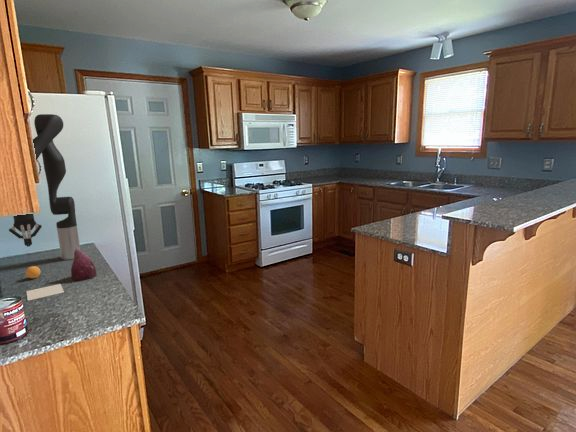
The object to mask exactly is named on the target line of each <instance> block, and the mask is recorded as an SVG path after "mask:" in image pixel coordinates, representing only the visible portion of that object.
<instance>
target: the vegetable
mask: <svg viewBox="0 0 576 432" xmlns="http://www.w3.org/2000/svg"><path fill="white" fill-rule="evenodd" d="M70 274H71V280H73V281H80V282H81V281H87V280H91V279H93V278H95V277H97V270H96V267H95V264H94V262H93V260H92V258H91V257H90V256H89V255H88V254H86V253H84V252H83V251H82V250H81V249H80V250H79V249H77V248H76V250H75V252H74V259H73V262H72V264H71V268H70Z"/></svg>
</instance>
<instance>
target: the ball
mask: <svg viewBox="0 0 576 432" xmlns="http://www.w3.org/2000/svg"><path fill="white" fill-rule="evenodd" d="M40 274H41V269H40V268H39V267H38V266H35V265H34V266H33V265H32V266H29V267H28V268H26V270H25V276H26V277H27V278H29V279H36V278H38V277H39V276H40Z"/></svg>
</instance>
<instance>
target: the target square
mask: <svg viewBox="0 0 576 432" xmlns="http://www.w3.org/2000/svg"><path fill="white" fill-rule="evenodd" d="M63 293H65V291H64V289H63V286H62V284H61V283H58V284H54V285H49V286H44V287H40V288H36V289H31V290H30V289H29V290H26V298H27V302H29V301H34V300H38V299H42V298H46V297H51V296H56V295H60V294H63Z"/></svg>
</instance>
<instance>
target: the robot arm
mask: <svg viewBox="0 0 576 432" xmlns="http://www.w3.org/2000/svg"><path fill="white" fill-rule="evenodd" d="M33 123H34V124H33V125H34V129H35V133H36V136H35V137H34V138H33V139H32V140H33V143H34V148H35V154H36V160H38V159H39V158H40V156H42V163H43V164H42V165H43V169H44V173H45V179H46V184H47V190H48V200H49V208H50V212H51V214H52V215H54V216H59V215H61V216H62V215H67V217H65V218H64V219H61V220H58V221H57V222H56V225H55V226H56V231H57V237H58V244H59V251H60V252H59V253H60V258H61V260H65V261H67V260H74V252H75V250H76V248H77V249H79V250H80V251H81V245H80V237H79V232H78V225H77V216H76V206H75V205H76V204H75V200H74V198H73V197H72V196H57V194H58V189H59V187H60V185H61V183H62V182H63V180H64V178H65V176H66V173H67V170H66V162H65V158H64V156H63V155H62V153H61V152H60V151H59V149H58V148H57V146H56V145H55V143H54V139H55V138H56V137H57V136H58V135H59V134H60V133H61V132H62V131H63V129H64V121H63V119H62V117H61V116H59V114H58V115H57V114H50V113H49V114H48V113H45V114H44V113H42V114H37V115H36V116H35V118H34V122H33ZM12 216H13V215H12ZM12 218H13V226H11V227H10V228H8V231H9V232H10V233H12V234H13V235H14V236H15V237H17V238H18V239H22V240H23V244H24V246H26V247H27V248H28V247H31V246H32V245H33V241H32V238H34V237H36V235H37V234H38V233H39V231H40V230H41V229H42V224H40V223H39V224H38V223H37V221H36V220H35V217H34V213H33V214H26V215H17V216H13V217H12ZM34 228H35V229H34ZM33 229H34V230H33ZM17 230H18V231H19V232H21V234H22V235H21V234H20V233H18V232H17ZM32 230H33V232H32Z"/></svg>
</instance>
